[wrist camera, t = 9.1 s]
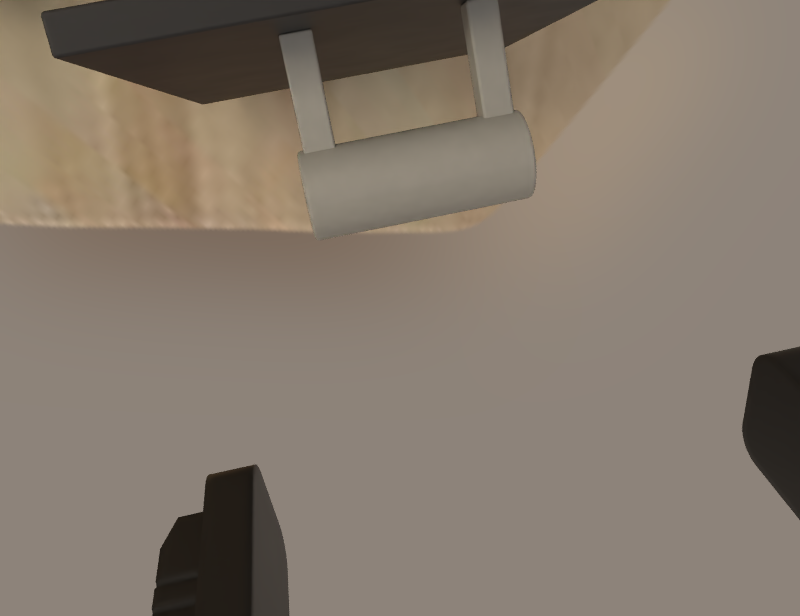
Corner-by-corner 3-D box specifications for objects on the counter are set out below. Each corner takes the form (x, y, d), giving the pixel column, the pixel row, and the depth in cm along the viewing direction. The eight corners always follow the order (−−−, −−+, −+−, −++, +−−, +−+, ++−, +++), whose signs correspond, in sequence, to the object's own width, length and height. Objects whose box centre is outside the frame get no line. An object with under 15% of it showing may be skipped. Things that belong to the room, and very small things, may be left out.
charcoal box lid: (37, 11, 13) (120, 296, 14) (723, -112, 13) (742, 169, 15) (196, 84, 29) (228, 213, 30) (503, 26, 29) (521, 154, 31)
